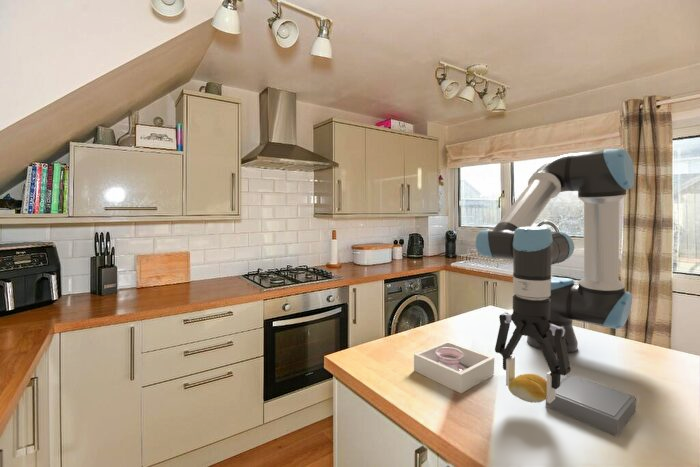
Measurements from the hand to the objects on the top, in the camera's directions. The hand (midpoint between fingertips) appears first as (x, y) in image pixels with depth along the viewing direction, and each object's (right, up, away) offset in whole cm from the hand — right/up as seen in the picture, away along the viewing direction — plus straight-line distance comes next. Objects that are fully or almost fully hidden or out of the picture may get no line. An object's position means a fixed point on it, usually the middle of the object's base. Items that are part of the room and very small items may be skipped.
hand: (529, 391), depth 79 cm
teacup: (-13, -4, +21) cm, 25 cm away
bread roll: (0, -1, 0) cm, 1 cm away
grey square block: (+15, -5, +2) cm, 16 cm away
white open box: (-11, -4, +21) cm, 24 cm away
